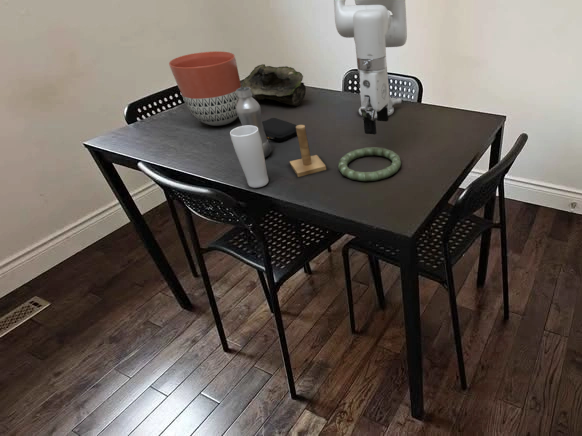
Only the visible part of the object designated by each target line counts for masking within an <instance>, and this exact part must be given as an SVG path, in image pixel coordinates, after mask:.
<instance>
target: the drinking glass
mask: <svg viewBox="0 0 582 436" xmlns="http://www.w3.org/2000/svg"><path fill="white" fill-rule="evenodd" d="M229 135H230V139H231V143H232V147H233V150H234V152H235V155H236V157H237V159H238V162H239V164H240V167H241V169H242V172H243V175H244V177H245V181H246V184H247V185H248V186H249V187H250V188H253V189H259V188H264V187H265V186H267V185H268V184H269V181H270V179H269V175H268V170H267V164H266V157H264V150H263V145H262V140H261V136H260V133H259V130H258V128H257V127H256V126H252V125H246V126H242V125H240V126H237V127H234V128H233V129H231V130H230V132H229Z"/></svg>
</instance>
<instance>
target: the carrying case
mask: <svg viewBox="0 0 582 436" xmlns="http://www.w3.org/2000/svg"><path fill="white" fill-rule="evenodd" d="M262 123H263V128H264V132H265V134H266V137H267V140H274V141H278V142H282V141H283V142H284V141H286V140H288V139H290V138H292V137H294V136H297V131H296V126H297V124H295V123H292V122H289V121H286V120H283V119H280V118H277V117H271V118H268V119H265V120H262Z"/></svg>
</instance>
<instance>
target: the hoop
mask: <svg viewBox="0 0 582 436" xmlns="http://www.w3.org/2000/svg"><path fill="white" fill-rule="evenodd" d="M371 156H374V157H375V156H376V157H382V158H386V159H389V160H390V162H391V164H390V165H389V166H387V167H385V168H383V169H380V170H379V169H378V170H376V171H358V170H354V169H352V168H350V167H348V165H349V163H350V162H352V161H354V160H356V159H359V158H363V157H371ZM401 166H402V160H401V157H400V155H398V153H396V152H395V151H394V150H391V149H388V148H385V147H376V146H370V147H362V148H361V147H360V148H358V149H353V150H351V151H349V152H347V153H345V154H344V155H342V157H341V158H340V159H339V160H338V166H337V167H338V171H339V172H340V173H341V175H342V176H344V177H345V178H348V179H349V180H352V181H359V182H377V181H381V180H383V179H387V178H390V177H391V176H393V175H395V174H396V173H398V171H399V169H400V168H401Z"/></svg>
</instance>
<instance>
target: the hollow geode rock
mask: <svg viewBox="0 0 582 436" xmlns="http://www.w3.org/2000/svg"><path fill="white" fill-rule="evenodd" d="M303 79H304V75H303V74H302V73H301V72H300V71H297V70H296V69H295V68H294V67H292V66H287V65H285V66H271V65H266V64H263V63H262V64H259V65H256V66H255V67H254V69H252V70H251V72H250V73H249V75H247V76H246V77H244V79H243V83H242V87H249V88H250V89H251V93H252V95H253V96H256V97H257V100H258V101H263V100H264V99H266V100H271V101H272V100H273V101H277V102H279V103H283V104H286V105H290V106H293V107H294V106H295V107H298V106H300V104H301V103H302V101H303V100H304V98H305V97H306V92H307V87H306V85H305V82H303Z"/></svg>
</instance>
